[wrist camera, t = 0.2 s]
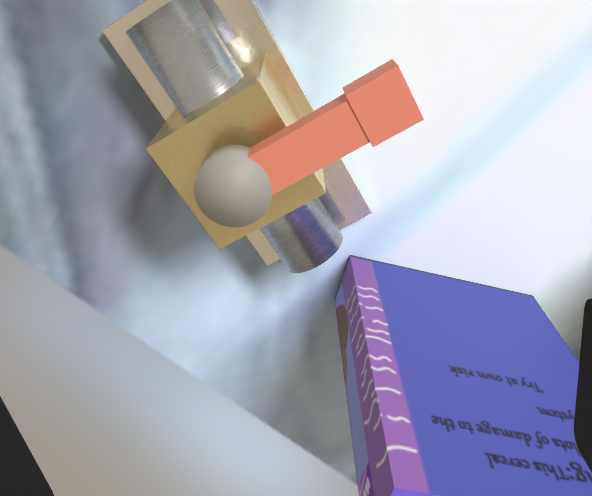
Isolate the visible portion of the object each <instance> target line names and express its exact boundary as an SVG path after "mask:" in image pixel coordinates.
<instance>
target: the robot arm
mask: <svg viewBox="0 0 592 496" xmlns="http://www.w3.org/2000/svg"><path fill="white" fill-rule="evenodd" d="M574 437H575V441H576V444H577V447H578V449H579V451H580V453H581V455H582V457H583V459H584V460H585V462H586V464H587V466H588V467H589V469H590V471H591V472H592V299H589V300H587V301H586V303H585V308H584V318H583V329H582V340H581V351H580V362H579V373H578V384H577V395H576V406H575V417H574ZM0 496H54V494H53V492H52V490H51V488H50V486H49V484H48V482H47V481H46V479H45V477H44V475H43V473H42V472H41V470H40V468H39V466H38V464H37V463H36V461H35V459H34V457H33V455H32V453H31V452H30V450H29V448H28V446H27V444H26V442H25V441H24V439H23V437H22V435H21V433H20V432H19V430H18V428H17V426H16V424H15V423H14V421H13V419H12V417H11V415H10V413H9V412H8V410H7V408H6V406H5V404H4V402H3V401H2V399H1V397H0Z"/></svg>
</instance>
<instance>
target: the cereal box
mask: <svg viewBox="0 0 592 496" xmlns="http://www.w3.org/2000/svg"><path fill="white" fill-rule="evenodd" d="M335 306H336V314H337V322H338V330H339V338H340V346H341V354H342V362H343V370H344V378H345V387H346V395H347V403H348V411H349V419H350V427H351V435H352V443H353V451H354V459H355V467H356V475H357V483H358V491H359V496H592V472H591V471H590V469H589V467H588V466H587V464H586V462H585V460H584V459H583V457H582V455H581V453H580V451H579V449H578V447H577V444H576V441H575V437H574V417H575V406H576V395H577V384H578V373H579V362H578V361H577V359H576V358H575V356H574V355H573V354H572V352H571V351H570V349H569V348H568V346H567V345H566V343H565V342H564V340H563V339H562V338H561V336H560V335H559V333H558V332H557V330H556V329H555V327H554V326H553V325H552V323H551V322H550V320H549V319H548V317H547V316H546V314H545V313H544V311H543V310H542V309H541V307H540V306H539V304H538V303H537V301H536V300H535V298H534V297H533V296H532V295H527V294H523V293H518V292H514V291H509V290H505V289H500V288H496V287H491V286H487V285H482V284H478V283H473V282H469V281H464V280H460V279H455V278H451V277H446V276H442V275H437V274H433V273H428V272H424V271H419V270H415V269H410V268H406V267H401V266H397V265H392V264H388V263H383V262H379V261H375V260H370V259H366V258H361V257H357V256H352V255H350V257H349V259H348V262H347V265H346V268H345V271H344V274H343V277H342V280H341V283H340V285H339V288H338V291H337V294H336V297H335Z"/></svg>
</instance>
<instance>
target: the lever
mask: <svg viewBox="0 0 592 496" xmlns="http://www.w3.org/2000/svg"><path fill="white" fill-rule="evenodd" d="M343 90H344V93H345V94H343V95H341V96H339V97H338V98H336V99H334V100H332V101H331V102H329V103H327V104H325V105H324V106H322V107H320V108H319V109H317V110H315V111H313V112H312V113H310V114H308V115H306V116H305V117H303V118H301V119H299V120H298V121H296V122H294V123H292V124H291V125H289V126H287V127H285V128H284V129H282V130H280V131H278V132H277V133H275V134H273V135H271V136H270V137H268V138H266V139H265V140H263V141H261V142H259V143H258V144H256V145H254V146H252V147H251V148H249V147H246V146H242V145H226V146H222V147H219V148H217V149H215V150H214V151H212V152H211V153H210V154H209V155H208V156H207V157H206V158H205V159H204V161H203V162H202V164H201V167H200V169H199V172H198V174H197V177H196V179H195V183H194V196H195V200H196V202H197V205H198V207H199V208H200V210H201V211H202V212H203V214H204V215H205V216H206V217H208V218H209V219H210V220H212V221H213V222H215V223H217V224H220V225H223V226H227V227H243V226H247V225H250V224H252V223H254V222H256V221H257V220H259V219H260V218H261V217H262V216H263V215H264V214H265V213H266V211H267V210H268V208H269V206H270V203H271V199H272V195H274V194H276V193H277V192H279V191H281V190H283V189H285V188H287V187H288V186H290V185H292V184H294V183H296V182H298V181H299V180H301V179H303V178H305V177H307V176H309V175H310V174H312V173H314V172H316V171H318V170H320V169H321V168H323V167H325V166H327V165H329V164H331V163H332V162H334V161H336V160H338V159H340V158H342V157H343V156H345V155H347V154H349V153H351V152H353V151H354V150H356V149H358V148H360V147H362V146H364V145H365V144H367V143H369V142H371V144H372V146H373V147H374V146H376V145H378V144H380V143H381V142H383V141H385V140H387V139H389V138H391V137H392V136H394V135H396V134H398V133H400V132H402V131H404V130H405V129H407V128H409V127H411V126H413V125H415V124H416V123H418V122H420V121H422V120H424V119H423V117H422V115H421V113H420V111H419V108H418V106H417V104H416V102H415V100H414V98H413V96H412V94H411V92H410V90H409V87H408V85H407V83H406V81H405V79H404V77H403V75H402V73H401V71H400V69H399V66H398V65H397V64H396V63H395V62H394V60H393V59H392V60H390V61H388V62H387V63H385V64H383V65H381V66H380V67H378V68H376V69H374V70H373V71H371V72H369V73H367V74H366V75H364V76H362V77H361V78H359V79H357V80H355V81H354V82H352V83H350V84H348V85H347V86H345V87H343Z"/></svg>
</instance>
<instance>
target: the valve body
mask: <svg viewBox="0 0 592 496" xmlns="http://www.w3.org/2000/svg"><path fill="white" fill-rule="evenodd" d="M103 33H104V34H105V35H106V37H107V38H108V40H109V41H110V43H111V44H112V45H113V47H114V48H115V50H116V51H117V53H118V54H119V55H120V57H121V58H122V60H123V61H124V63H125V64H126V65H127V67H128V68H129V70H130V71H131V73H132V74H133V75H134V77H135V78H136V80H137V81H138V82H139V84H140V85H141V87H142V88H143V90H144V91H145V92H146V94H147V95H148V97H149V98H150V100H151V101H152V102H153V104H154V105H155V107H156V108H157V110H158V111H159V112H160V114H161V115H162V117H163V118H164V120H165V123H164V124H163V126H162V127H161V129H160V130H159V131H158V133H157V134H156V136H155V137H154V138H153V140H152V141H151V143H150V144H149V145H148V147H147V148H146V150H147V151H148V152H149V154H150V155H151V157H152V158H153V159H154V161H155V162H156V163H157V165H158V166H159V167H160V169H161V170H162V171H163V173H164V174H165V176H166V177H167V178H168V180H169V181H170V182H171V184H172V185H173V186H174V188H175V189H176V190H177V192H178V193H179V195H180V196H181V197H182V199H183V200H184V201H185V203H186V204H187V205H188V207H189V208H190V209H191V211H192V212H193V214H194V215H195V216H196V218H197V219H198V220H199V222H200V223H201V224H202V226H203V227H204V228H205V230H206V231H207V233H208V234H209V235H210V237H211V238H212V239H213V241H214V242H215V243H216V245H217V246H218V247H219V249H222V248H224V247H226V246H228V245H229V244H231V243H233V242H235V241H237V240H239V239H241V238H243V237H245V236H247V238H248V239H249V241H250V242H251V243H252V245H253V246H254V248H255V249H256V251H257V252H258V253H259V255H260V256H261V258H262V259H263V261H264V262H265V263H266V265H267V266H269V265H271V264H273V263H275V262H277V261H278V260H280V259H281V261H282V262H283V264H284V265H285V267H286V268H287V270H288V271H290V272H292V273H301V272H305V271H308V270H311V269H313V268H315V267H317V266H319V265H321V264H322V263H324V262H325V261H327V260H328V259H329V258H330V257H331V256H332V255H333V254H334V253H335V252H336V251H337V250H338V248H339V247H340V245H341V243H342V234H341V233H340V231H339V229H341V228H343V227H345V226H347V225H349V224H351V223H353V222H355V221H357V220H359V219H361V218H362V217H364V216H366V215H368V214H370V213H372V212H371V209H370V207H369V205H368V203H367V201H366V200H365V198H364V196H363V194H362V193H361V191H360V189H359V187H358V185H357V184H356V182H355V180H354V178H353V177H352V175H351V173H350V171H349V170H348V168H347V166H346V164H345V163H344V161H343V159H342V158H340V159H338V160H336V161H334V162H332V163H331V164H329V165H327V166H325V167H323V168H321V169H320V170H318V171H316V172H314V173H312V174H310V175H309V176H307V177H305V178H303V179H301V180H299V181H298V182H296V183H294V184H292V185H290V186H288V187H287V188H285V189H283V190H281V191H279V192H277V193H276V194H274V195H272V199H271V203H270V206H269V208H268V210H267V211H266V213H265V214H264V215H263V216H262V217H261V218H260V219H259V220H257V221H256V222H254V223H252V224H250V225H247V226H243V227H227V226H223V225H220V224H217V223H215V222H213V221H212V220H210V219H209V218H208V217H206V216H205V215H204V214H203V212H202V211H201V210H200V208H199V207H198V205H197V202H196V200H195V196H194V183H195V179H196V177H197V174H198V172H199V169H200V167H201V164H202V162H203V161H204V159H205V158H206V157H207V156H208V155H209V154H210V153H211V152H212V151H214V150H215V149H217V148H219V147H222V146H226V145H242V146H246V147H249V148H251V147H252V146H254V145H256V144H258V143H259V142H261V141H263V140H265V139H266V138H268V137H270V136H271V135H273V134H275V133H277V132H278V131H280V130H282V129H284V128H285V127H287V126H289V125H291V124H292V123H294V122H296V121H298V120H299V119H301V118H303V117H305V116H306V115H308V114H310V113H312V112H313V111H315V109H314V108H313V106H312V104H311V102H310V101H309V99H308V97H307V95H306V94H305V92H304V90H303V88H302V87H301V85H300V83H299V81H298V79H297V78H296V76H295V74H294V72H293V71H292V69H291V67H290V65H289V64H288V62H287V60H286V58H285V56H284V55H283V53H282V51H281V49H280V48H279V46H278V44H277V42H276V41H275V39H274V37H273V35H272V34H271V32H270V30H269V28H268V26H267V25H266V23H265V21H264V19H263V18H262V16H261V14H260V12H259V11H258V9H257V7H256V5H255V3H254V2H253V0H147V1H145V2H144V3H142V4H141V5H139V6H138V7H136V8H135V9H133V10H132V11H131V12H129V13H128V14H126V15H125V16H123V17H122V18H120V19H119V20H117V21H116V22H114V23H113V24H111V25H110V26H109V27H107V28H106V29H104V30H103Z"/></svg>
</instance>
